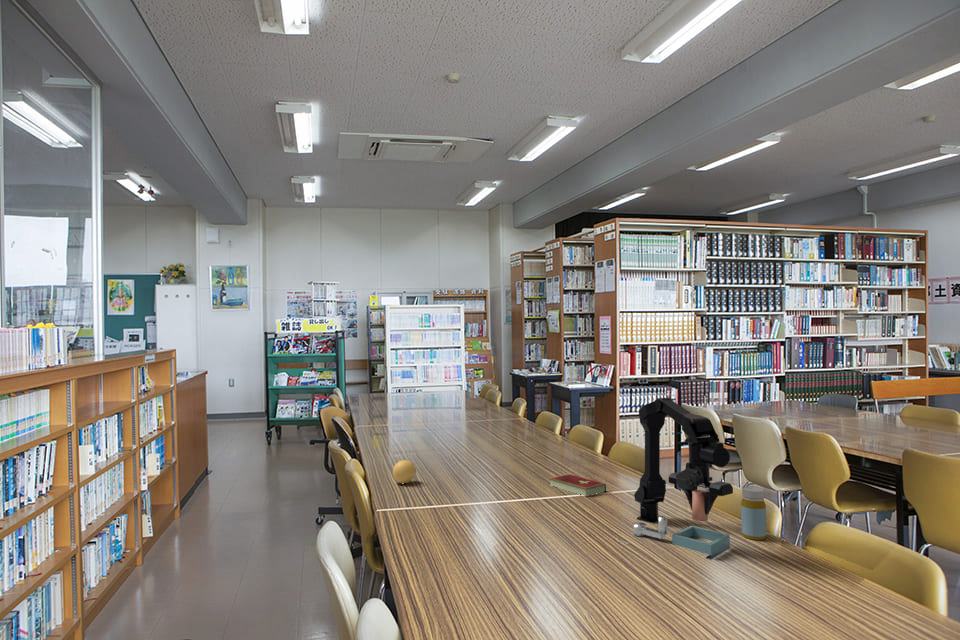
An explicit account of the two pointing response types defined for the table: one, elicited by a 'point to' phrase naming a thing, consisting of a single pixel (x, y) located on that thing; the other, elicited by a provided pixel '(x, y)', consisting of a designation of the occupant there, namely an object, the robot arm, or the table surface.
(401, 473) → the stress ball
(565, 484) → the hardcover book
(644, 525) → the crank
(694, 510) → the pin
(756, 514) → the bottle
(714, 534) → the tray
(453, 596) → the table surface
